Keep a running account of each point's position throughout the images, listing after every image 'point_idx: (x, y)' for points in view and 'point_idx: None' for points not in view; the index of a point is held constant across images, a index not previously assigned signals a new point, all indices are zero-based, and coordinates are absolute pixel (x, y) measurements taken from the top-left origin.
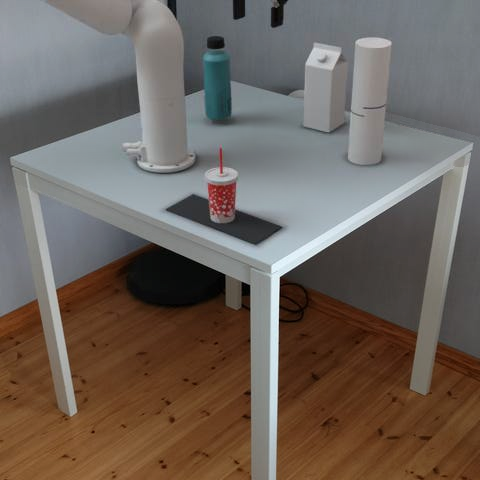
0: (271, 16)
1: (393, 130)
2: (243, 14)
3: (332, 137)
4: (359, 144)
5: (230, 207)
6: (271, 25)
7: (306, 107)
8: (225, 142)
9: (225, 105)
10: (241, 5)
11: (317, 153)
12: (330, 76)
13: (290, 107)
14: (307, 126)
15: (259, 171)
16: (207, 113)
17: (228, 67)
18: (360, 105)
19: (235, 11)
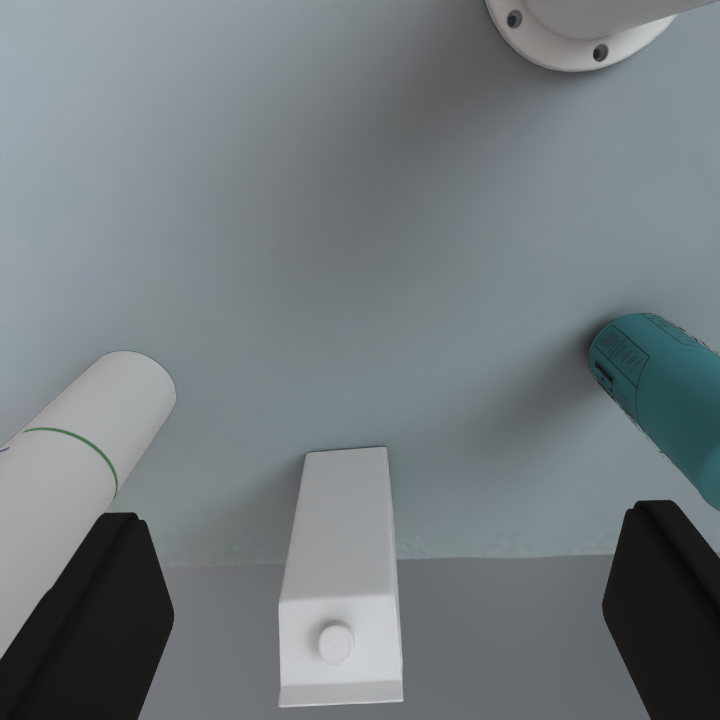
0: (63, 608)
1: (207, 542)
2: (618, 616)
3: (283, 439)
4: (85, 379)
5: None
6: (118, 522)
7: (379, 484)
8: (504, 230)
9: (610, 361)
10: (681, 704)
11: (239, 340)
12: (288, 580)
13: (494, 516)
14: (372, 448)
15: (271, 126)
16: (657, 316)
17: (678, 457)
18: (14, 451)
19: (689, 577)
